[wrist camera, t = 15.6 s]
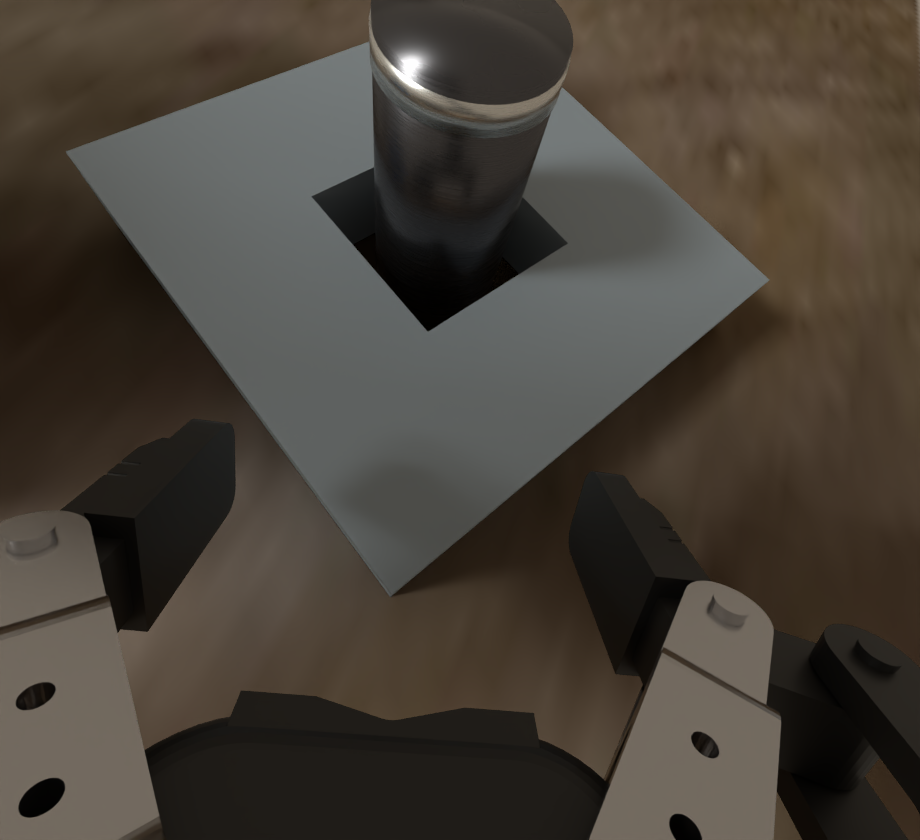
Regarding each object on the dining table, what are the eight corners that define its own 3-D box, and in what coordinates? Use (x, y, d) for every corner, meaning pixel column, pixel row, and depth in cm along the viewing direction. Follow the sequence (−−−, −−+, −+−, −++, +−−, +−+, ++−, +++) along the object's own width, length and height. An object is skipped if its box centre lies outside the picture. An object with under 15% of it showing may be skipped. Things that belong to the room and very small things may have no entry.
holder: (117, 225, 19) (65, 151, 16) (461, 78, 25) (472, 4, 22) (390, 596, 16) (391, 594, 13) (714, 326, 22) (769, 279, 19)
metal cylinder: (351, 267, 20) (325, -16, 11) (442, 218, 22) (486, -64, 13) (423, 353, 19) (460, 122, 10) (513, 295, 21) (615, 51, 12)
